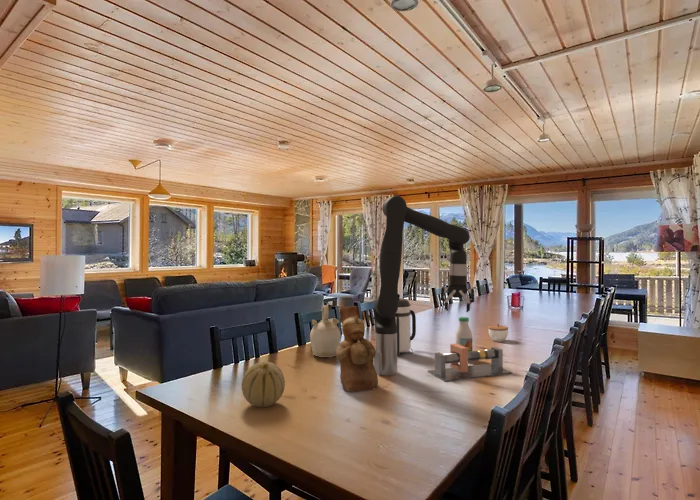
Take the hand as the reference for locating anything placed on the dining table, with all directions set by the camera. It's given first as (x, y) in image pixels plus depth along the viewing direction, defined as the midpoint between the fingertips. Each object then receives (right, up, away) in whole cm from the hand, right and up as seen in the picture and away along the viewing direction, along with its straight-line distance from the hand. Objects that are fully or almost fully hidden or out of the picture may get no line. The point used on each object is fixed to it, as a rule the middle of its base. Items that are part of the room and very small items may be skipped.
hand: (457, 311), depth 181 cm
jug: (-59, -26, +27) cm, 70 cm away
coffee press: (-22, -26, +31) cm, 46 cm away
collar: (-1, -23, -7) cm, 24 cm away
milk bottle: (+7, -25, +16) cm, 31 cm away
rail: (+4, -25, -5) cm, 26 cm away
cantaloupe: (-76, -26, -40) cm, 90 cm away
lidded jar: (+38, -25, +55) cm, 72 cm away
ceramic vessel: (-45, -26, -18) cm, 55 cm away
